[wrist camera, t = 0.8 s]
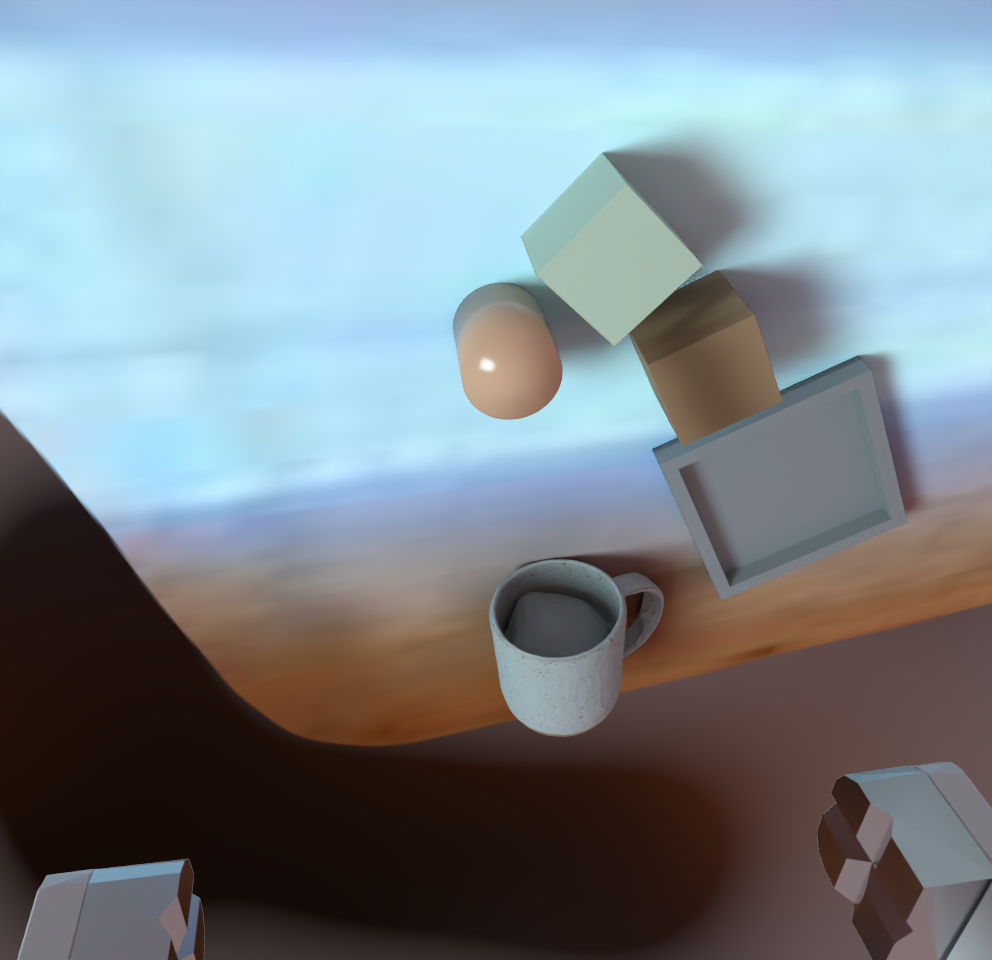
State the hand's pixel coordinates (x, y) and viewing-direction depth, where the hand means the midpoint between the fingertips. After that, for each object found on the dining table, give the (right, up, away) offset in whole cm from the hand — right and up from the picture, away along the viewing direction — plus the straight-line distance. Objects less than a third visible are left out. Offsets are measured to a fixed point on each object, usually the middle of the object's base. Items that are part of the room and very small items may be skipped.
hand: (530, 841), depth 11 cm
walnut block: (+9, +12, +32) cm, 36 cm away
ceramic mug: (+4, -3, +42) cm, 43 cm away
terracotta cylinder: (0, +12, +31) cm, 33 cm away
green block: (+4, +16, +29) cm, 33 cm away
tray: (+16, +5, +38) cm, 42 cm away
